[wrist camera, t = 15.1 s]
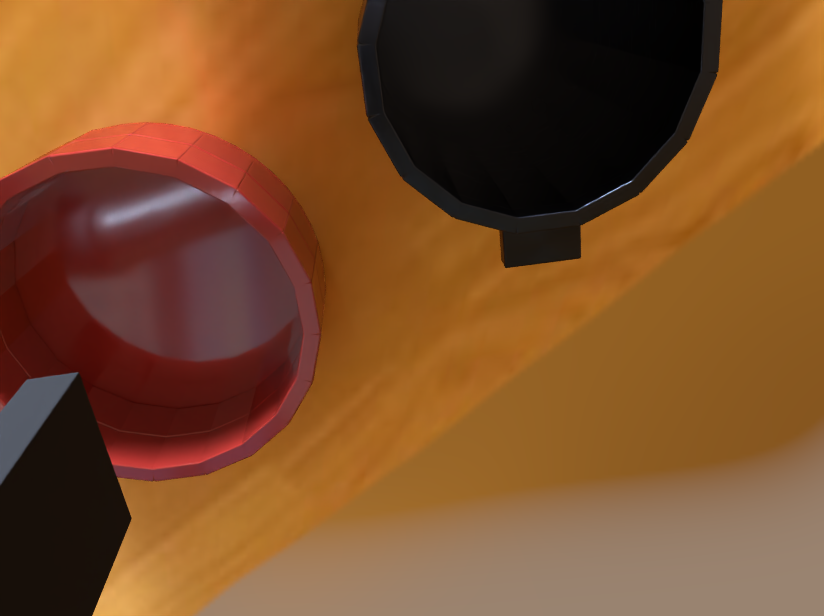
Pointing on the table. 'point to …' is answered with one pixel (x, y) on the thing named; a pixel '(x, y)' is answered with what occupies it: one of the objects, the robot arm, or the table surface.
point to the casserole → (161, 293)
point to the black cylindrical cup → (535, 105)
